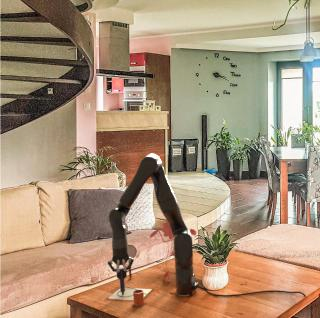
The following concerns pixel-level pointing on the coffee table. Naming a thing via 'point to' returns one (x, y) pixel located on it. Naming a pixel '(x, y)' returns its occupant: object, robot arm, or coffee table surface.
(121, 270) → the marker
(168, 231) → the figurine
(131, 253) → the magnifying glass
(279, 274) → the coffee table surface
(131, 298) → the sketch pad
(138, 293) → the pen cup
